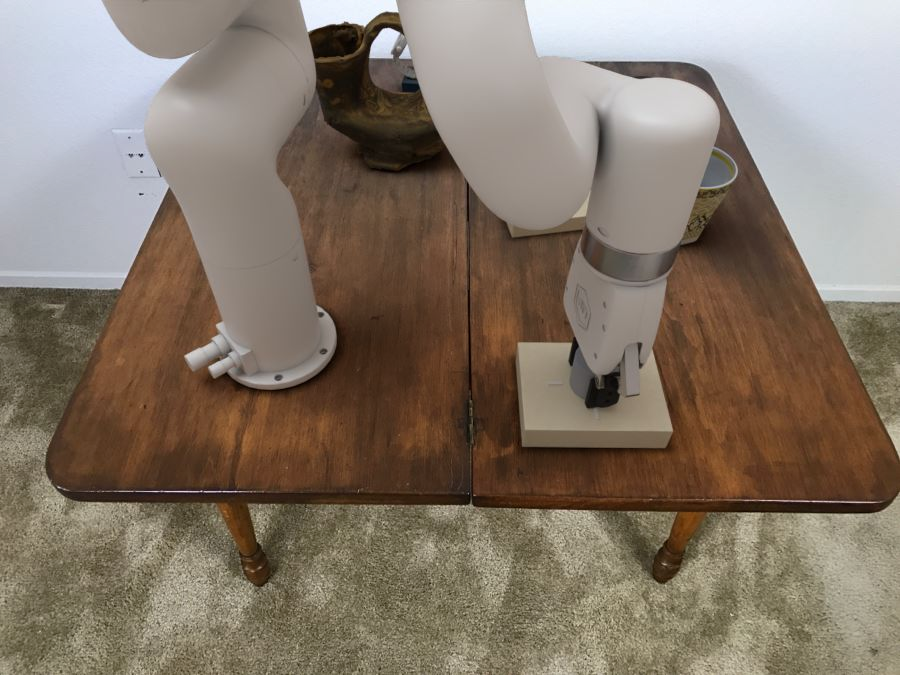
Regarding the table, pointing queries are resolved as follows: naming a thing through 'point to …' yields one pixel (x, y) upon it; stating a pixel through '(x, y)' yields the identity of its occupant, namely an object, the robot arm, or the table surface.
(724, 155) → the ceramic cup
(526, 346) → the control panel
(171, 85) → the robot arm
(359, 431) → the table surface
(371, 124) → the pottery vessel
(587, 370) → the program dial
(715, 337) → the table surface
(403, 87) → the watch
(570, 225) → the block
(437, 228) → the table surface
